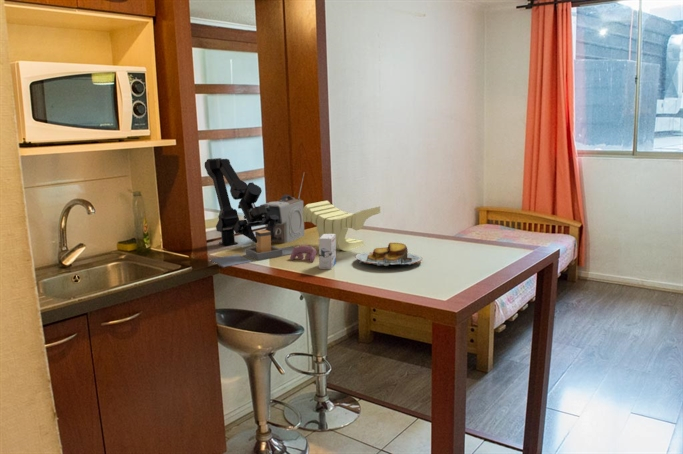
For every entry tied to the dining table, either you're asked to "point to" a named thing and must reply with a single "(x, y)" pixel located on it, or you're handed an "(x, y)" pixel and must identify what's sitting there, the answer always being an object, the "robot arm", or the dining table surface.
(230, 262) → the mat
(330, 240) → the ink box
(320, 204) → the slatted curved stool
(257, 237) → the block
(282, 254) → the case
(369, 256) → the food on plate
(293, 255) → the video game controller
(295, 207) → the portable television
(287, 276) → the dining table surface
